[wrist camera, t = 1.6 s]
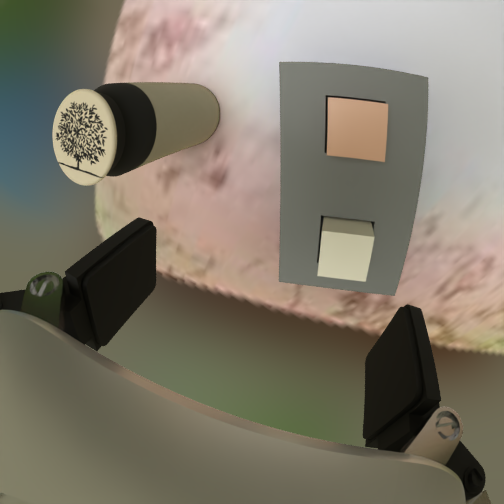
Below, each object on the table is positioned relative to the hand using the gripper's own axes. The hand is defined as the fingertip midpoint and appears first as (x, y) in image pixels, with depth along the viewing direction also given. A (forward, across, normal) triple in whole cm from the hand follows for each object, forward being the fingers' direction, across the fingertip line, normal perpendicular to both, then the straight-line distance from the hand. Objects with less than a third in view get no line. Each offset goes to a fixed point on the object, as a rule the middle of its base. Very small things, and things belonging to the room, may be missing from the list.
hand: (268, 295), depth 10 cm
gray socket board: (+24, -4, 0) cm, 25 cm away
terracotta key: (+21, -3, -5) cm, 22 cm away
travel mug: (+25, +16, -2) cm, 30 cm away
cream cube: (+21, -5, +6) cm, 23 cm away
